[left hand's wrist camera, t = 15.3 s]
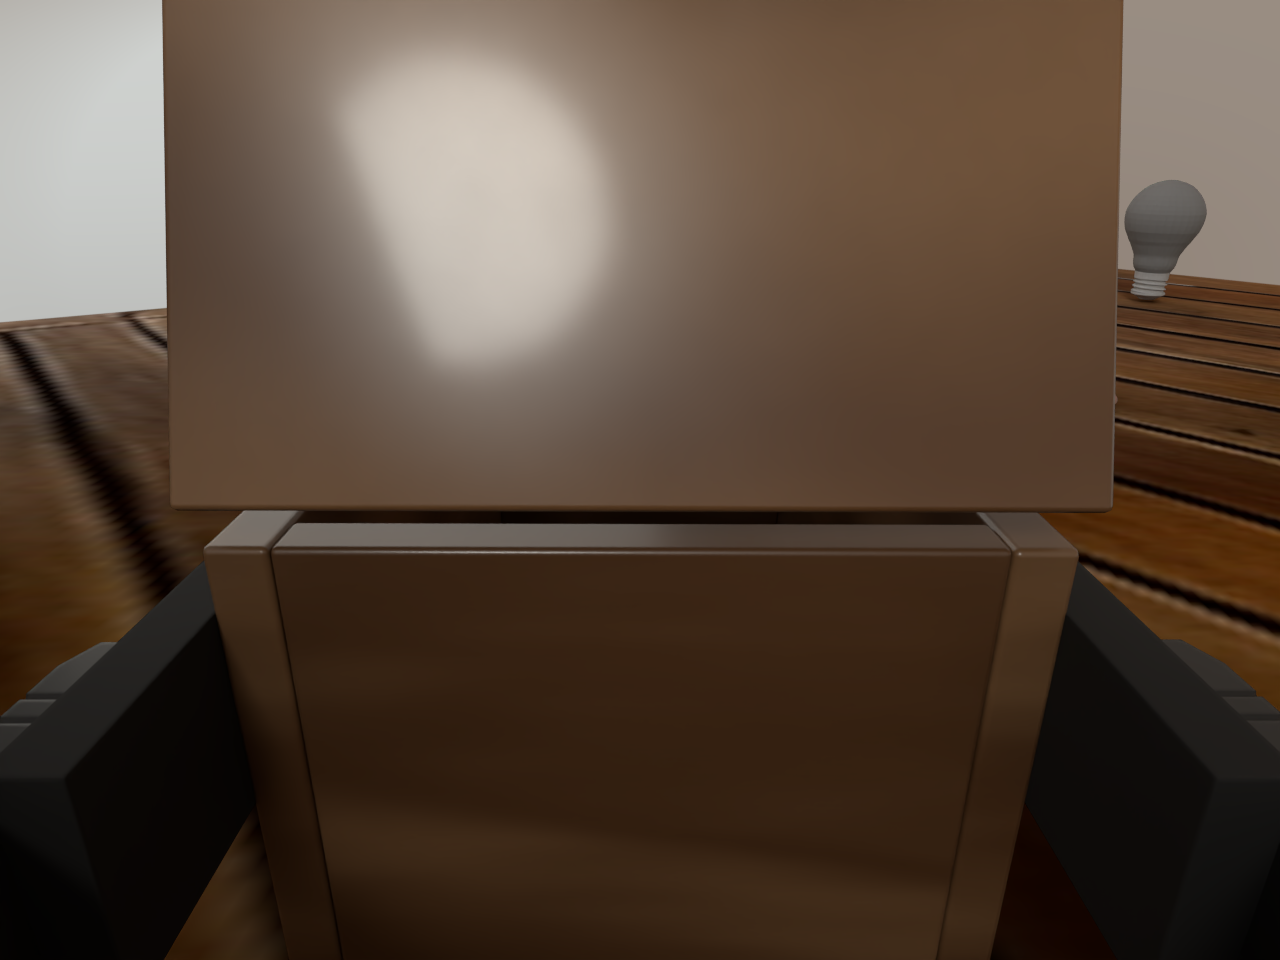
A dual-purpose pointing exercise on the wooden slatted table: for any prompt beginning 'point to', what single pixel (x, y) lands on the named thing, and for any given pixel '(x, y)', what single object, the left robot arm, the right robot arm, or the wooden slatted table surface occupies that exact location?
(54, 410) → the wooden slatted table surface
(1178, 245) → the light bulb
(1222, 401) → the wooden slatted table surface
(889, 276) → the lid
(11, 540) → the wooden slatted table surface
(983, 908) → the chest
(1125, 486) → the wooden slatted table surface
